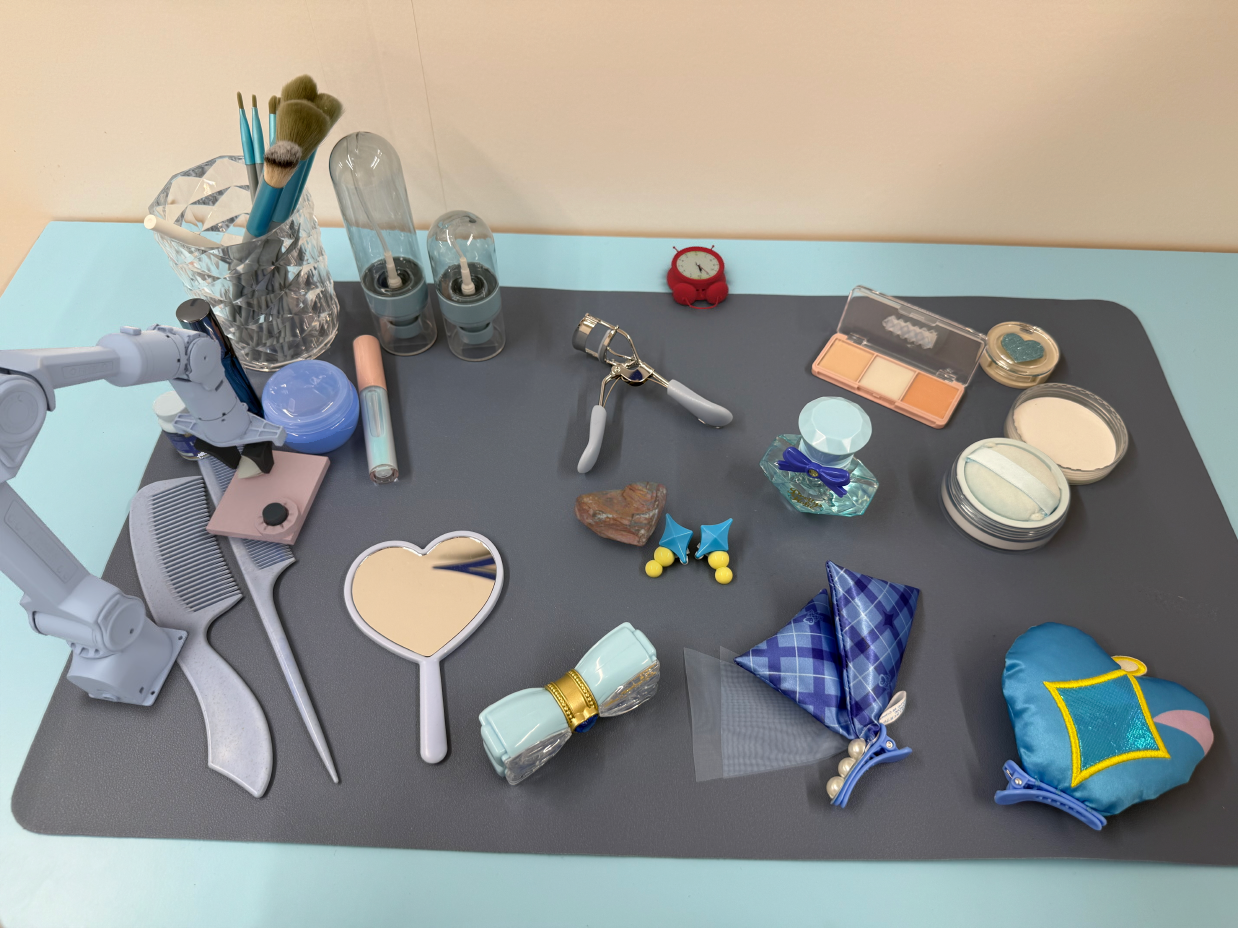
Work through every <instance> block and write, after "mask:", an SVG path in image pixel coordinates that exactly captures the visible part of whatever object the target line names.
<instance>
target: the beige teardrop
mask: <svg viewBox="0 0 1238 928" xmlns="http://www.w3.org/2000/svg"><path fill="white" fill-rule="evenodd" d="M241 457H242V458H241V460H240V462H239V465H238V467H237V469H238V478H239V479H241V478H248V477H254V476H259V475H261V474H263V472H262V471H261V470H260V469H259V468H258V466H257V465H256V464H255V463H254V462H253V461H252V460H251V459H249V458H247V457H245V456H242V455H241Z"/></svg>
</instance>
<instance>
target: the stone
mask: <svg viewBox="0 0 1238 928" xmlns="http://www.w3.org/2000/svg"><path fill="white" fill-rule="evenodd" d="M667 498H668V488H667V486H665V485H664V484H662V483H659V482H655V481H652V482H651V481H646V480H645V481H636V482H635V481H633V482H632V483H630V484H627V485H626V486H624V489H607V490H606V489H605V490H597V491H591V492H586V493H583V494H580V495H578V496H577V497H576V499H575V506H574V507H573V512H574V515H575V517H576V518H577V520H578V521H580V523H582V524H583V525H584V526H586V527H587V528H589V529H590V530H591V531H592V532H593V533H596V535H597V536H599V537H601V538H604V539H609V540H612V541H616V542H621V543H625V544H629V545H633V546H637V547H643V546H645V545H646V543H647V542H648V540H649V538H650V537H651V536H652V534H653V532H654V531H655V530H656V527H657V525H658V523H659V521H660V518H661V517H662V513H663V510H664V509H665V504H666V502H667Z"/></svg>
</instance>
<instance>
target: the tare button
mask: <svg viewBox="0 0 1238 928" xmlns="http://www.w3.org/2000/svg"><path fill="white" fill-rule="evenodd" d="M262 516H263V517H264V519H265V520H266V522H267V523H268V524H269V525H272V526H276V525H280V524H282V523H283V522H284V521H285V520H286V518H287V511H286V510H285V508H284V507H283V505H282V504H280V503H277V502H274V503H270V504H268V505H267V506H266V507H265V508H264V509H263V511H262Z"/></svg>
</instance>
